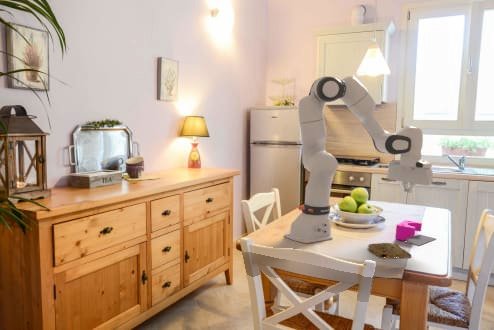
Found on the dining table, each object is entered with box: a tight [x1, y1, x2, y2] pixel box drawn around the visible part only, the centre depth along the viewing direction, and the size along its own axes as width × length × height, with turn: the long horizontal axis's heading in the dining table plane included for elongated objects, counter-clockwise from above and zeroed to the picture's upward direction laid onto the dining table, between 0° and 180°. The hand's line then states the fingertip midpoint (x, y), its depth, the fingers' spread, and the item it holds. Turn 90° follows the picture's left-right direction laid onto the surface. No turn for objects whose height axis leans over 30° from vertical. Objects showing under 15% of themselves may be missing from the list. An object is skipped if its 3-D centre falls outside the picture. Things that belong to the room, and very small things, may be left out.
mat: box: [401, 234, 437, 247], centre depth 180 cm, size 16×8×1 cm, turn 130°
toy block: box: [394, 219, 423, 241], centre depth 183 cm, size 15×6×8 cm
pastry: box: [367, 242, 412, 259], centre depth 163 cm, size 17×17×3 cm
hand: (407, 192), depth 183 cm, fingers closed
